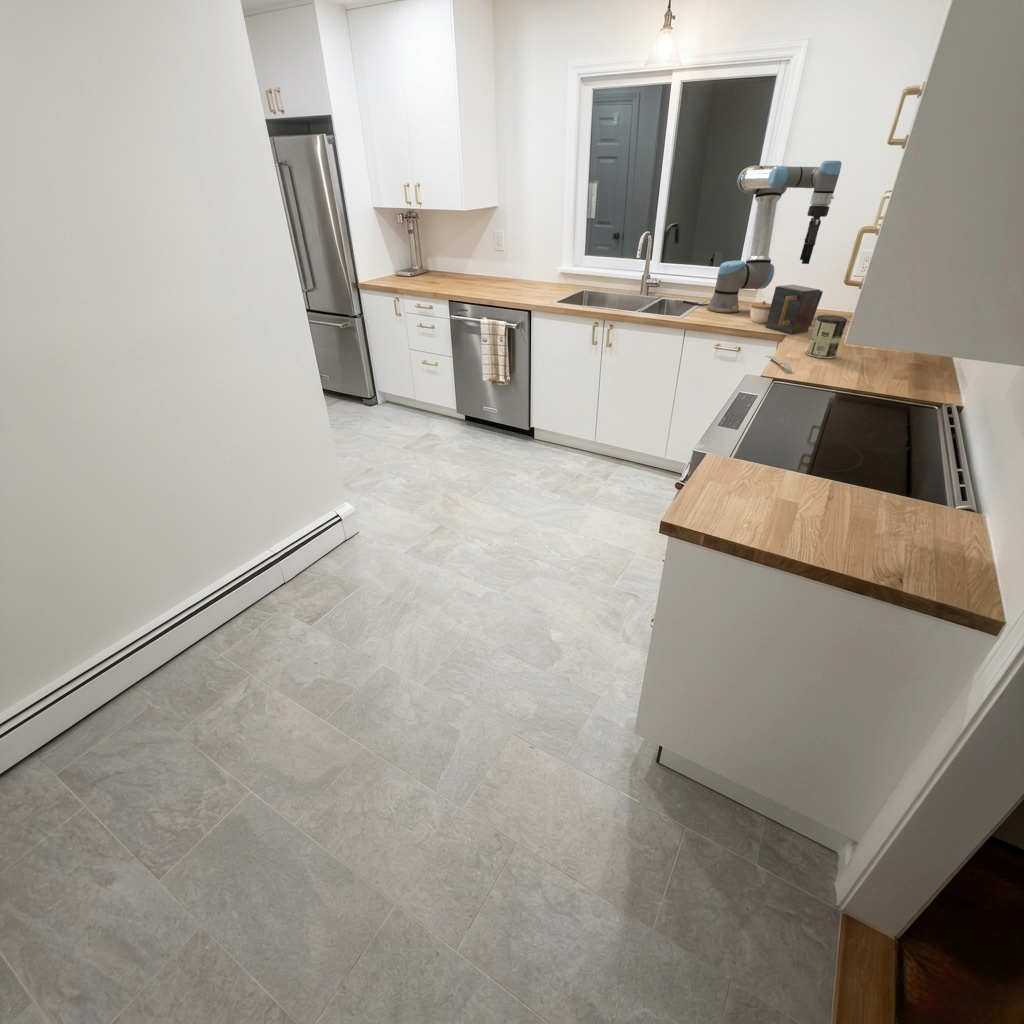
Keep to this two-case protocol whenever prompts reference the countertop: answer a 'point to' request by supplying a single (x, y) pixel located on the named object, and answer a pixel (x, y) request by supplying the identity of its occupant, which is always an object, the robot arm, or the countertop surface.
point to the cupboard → (804, 307)
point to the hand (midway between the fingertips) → (804, 261)
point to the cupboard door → (784, 309)
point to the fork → (781, 363)
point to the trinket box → (760, 312)
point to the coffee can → (826, 336)
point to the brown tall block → (816, 304)
